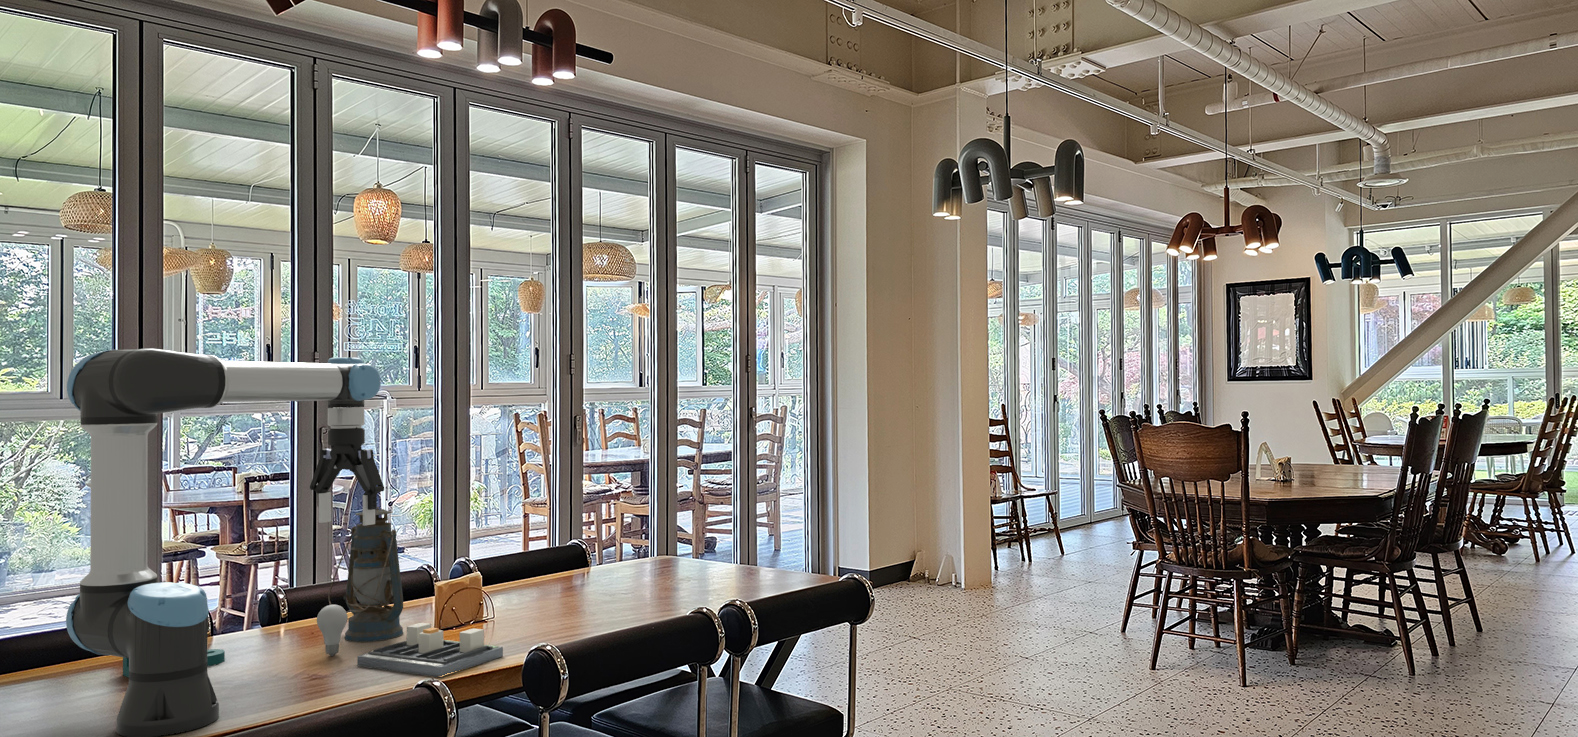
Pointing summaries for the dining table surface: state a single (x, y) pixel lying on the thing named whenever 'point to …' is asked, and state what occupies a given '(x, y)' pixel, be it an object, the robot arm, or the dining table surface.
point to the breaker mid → (430, 640)
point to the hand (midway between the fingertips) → (346, 523)
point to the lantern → (373, 582)
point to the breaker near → (471, 639)
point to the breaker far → (415, 632)
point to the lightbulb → (332, 626)
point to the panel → (427, 658)
